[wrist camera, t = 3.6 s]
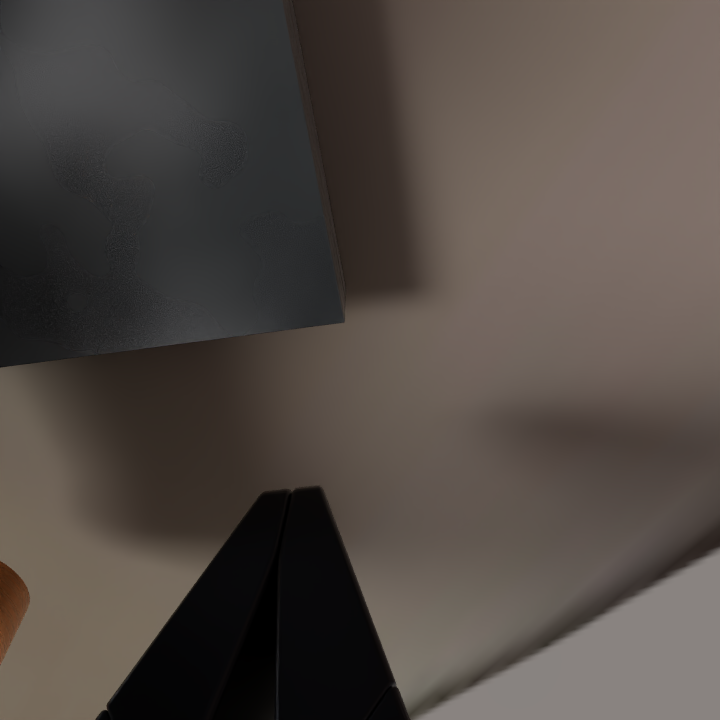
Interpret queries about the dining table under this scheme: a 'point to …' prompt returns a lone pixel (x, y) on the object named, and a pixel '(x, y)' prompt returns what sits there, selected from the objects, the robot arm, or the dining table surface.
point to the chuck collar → (11, 606)
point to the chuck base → (158, 177)
